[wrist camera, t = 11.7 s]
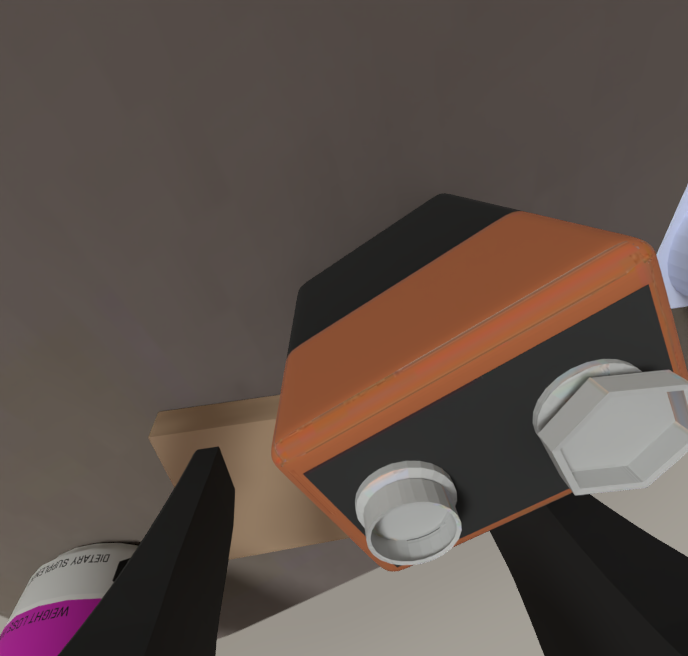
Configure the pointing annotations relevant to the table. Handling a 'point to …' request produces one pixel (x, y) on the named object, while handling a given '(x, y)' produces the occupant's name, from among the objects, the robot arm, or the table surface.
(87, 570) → the supplement can
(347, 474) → the battery
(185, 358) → the table surface
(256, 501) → the wooden flat block
